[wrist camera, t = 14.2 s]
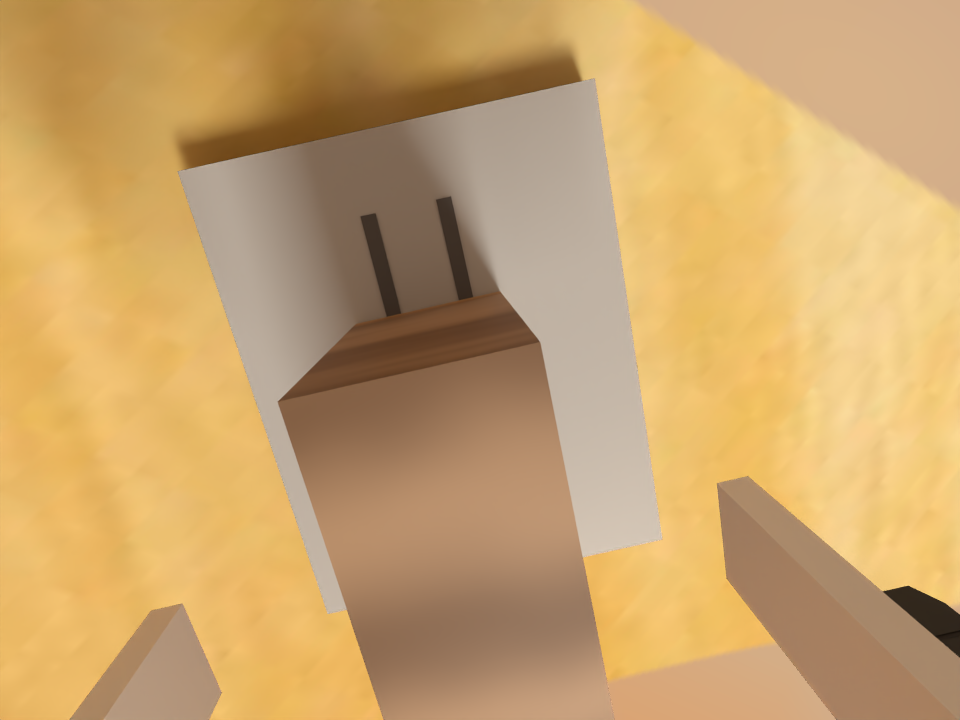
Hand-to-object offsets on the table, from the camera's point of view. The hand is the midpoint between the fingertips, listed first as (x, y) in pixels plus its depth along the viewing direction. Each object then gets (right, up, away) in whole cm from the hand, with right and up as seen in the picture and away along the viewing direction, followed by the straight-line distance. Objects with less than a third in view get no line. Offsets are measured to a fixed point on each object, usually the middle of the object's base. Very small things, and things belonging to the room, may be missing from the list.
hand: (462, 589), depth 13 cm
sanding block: (0, +2, +10) cm, 10 cm away
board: (-1, +5, +11) cm, 12 cm away
